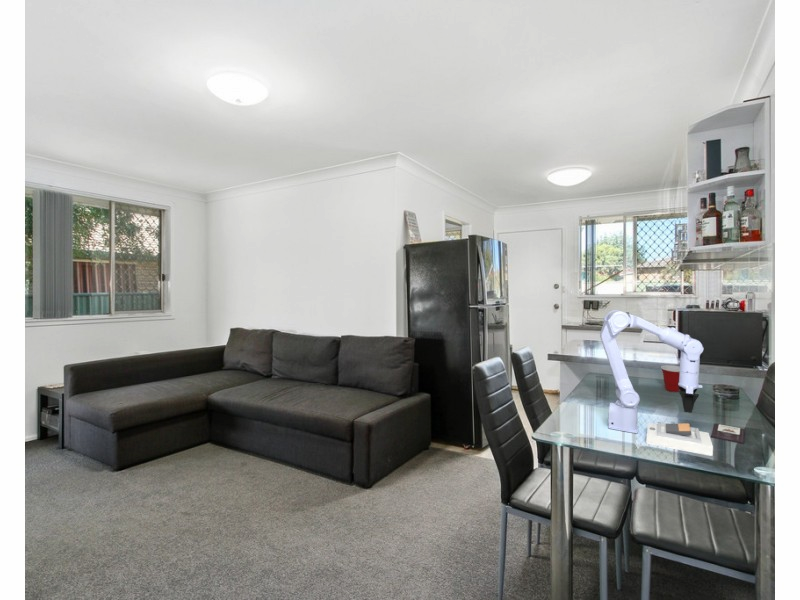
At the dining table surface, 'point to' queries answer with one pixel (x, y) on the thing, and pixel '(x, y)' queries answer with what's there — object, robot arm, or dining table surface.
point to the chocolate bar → (728, 433)
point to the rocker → (678, 429)
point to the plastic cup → (671, 377)
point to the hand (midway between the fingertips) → (687, 409)
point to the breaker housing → (679, 439)
